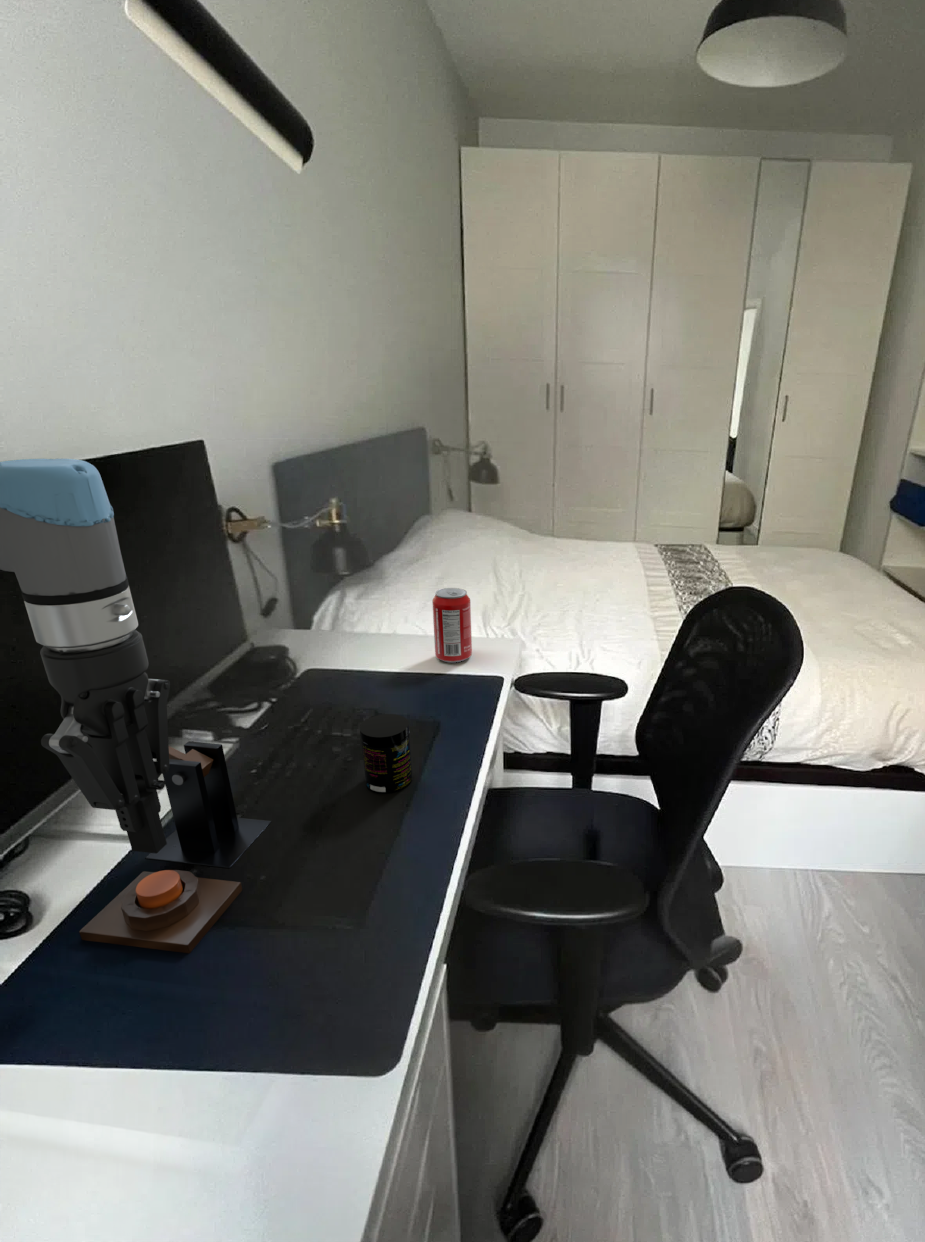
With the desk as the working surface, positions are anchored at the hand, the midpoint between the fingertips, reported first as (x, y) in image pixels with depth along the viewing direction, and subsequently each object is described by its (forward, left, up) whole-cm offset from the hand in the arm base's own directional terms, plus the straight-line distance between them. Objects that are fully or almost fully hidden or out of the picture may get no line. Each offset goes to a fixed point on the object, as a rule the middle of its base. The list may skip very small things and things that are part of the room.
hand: (149, 847), depth 67 cm
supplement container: (+14, +28, -10) cm, 33 cm away
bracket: (-3, +12, -10) cm, 16 cm away
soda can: (+9, +76, -10) cm, 77 cm away
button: (0, 0, -7) cm, 7 cm away
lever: (-9, +12, +3) cm, 15 cm away
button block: (0, 0, -10) cm, 10 cm away
